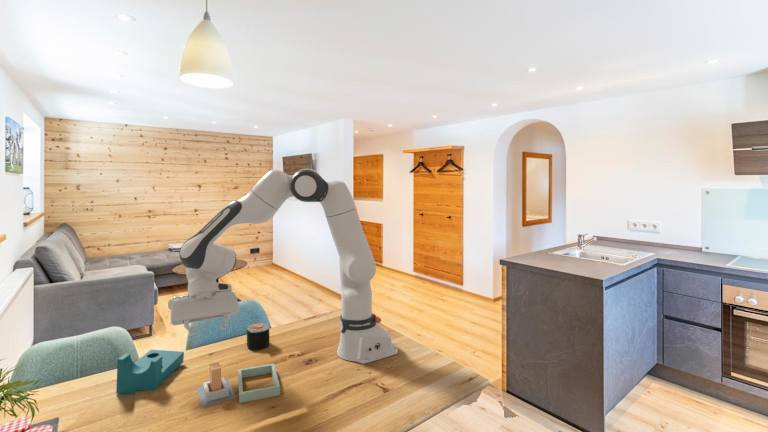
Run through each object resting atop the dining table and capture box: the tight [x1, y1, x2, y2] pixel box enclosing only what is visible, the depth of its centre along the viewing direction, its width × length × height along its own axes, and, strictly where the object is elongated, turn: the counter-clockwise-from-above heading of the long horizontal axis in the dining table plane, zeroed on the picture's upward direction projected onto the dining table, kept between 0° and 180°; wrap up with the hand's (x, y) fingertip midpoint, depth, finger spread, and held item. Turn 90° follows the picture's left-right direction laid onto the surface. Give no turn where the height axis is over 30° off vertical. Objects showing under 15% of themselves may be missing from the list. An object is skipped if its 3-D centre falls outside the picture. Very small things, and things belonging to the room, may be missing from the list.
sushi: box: [246, 322, 270, 351], centre depth 144 cm, size 8×8×8 cm
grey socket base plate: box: [196, 377, 237, 409], centre depth 111 cm, size 9×12×3 cm
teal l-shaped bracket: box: [115, 349, 185, 395], centre depth 120 cm, size 18×11×10 cm, turn 3°
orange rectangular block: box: [209, 362, 222, 392], centre depth 111 cm, size 2×4×8 cm, turn 32°
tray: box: [237, 363, 281, 404], centre depth 115 cm, size 11×15×4 cm
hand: (208, 331), depth 120 cm, fingers open, 8 cm apart
